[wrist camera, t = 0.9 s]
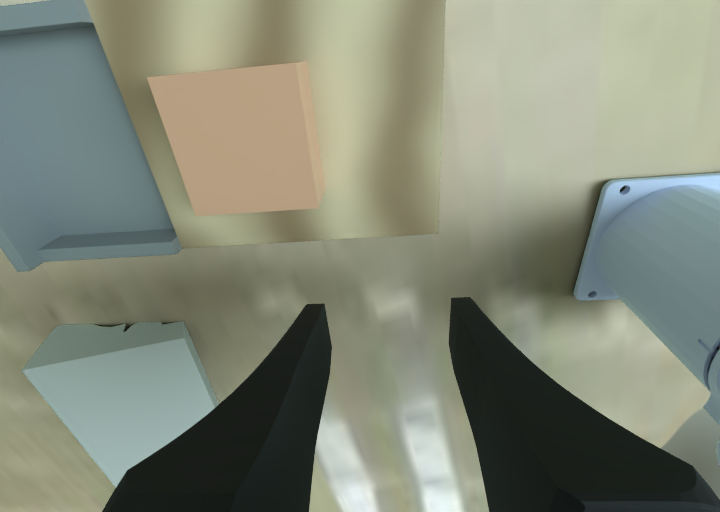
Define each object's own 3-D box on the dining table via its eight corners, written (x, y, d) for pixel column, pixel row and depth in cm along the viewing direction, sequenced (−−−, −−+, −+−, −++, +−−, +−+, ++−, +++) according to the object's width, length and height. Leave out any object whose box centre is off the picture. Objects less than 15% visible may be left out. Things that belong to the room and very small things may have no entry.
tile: (306, 60, 16) (295, 62, 13) (325, 189, 19) (318, 208, 16) (177, 73, 16) (146, 77, 14) (215, 197, 19) (195, 216, 17)
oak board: (440, -36, 15) (446, -43, 14) (434, 221, 21) (438, 233, 20) (107, 3, 16) (84, -1, 15) (193, 236, 22) (182, 248, 21)
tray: (107, 3, 16) (52, -6, 13) (193, 236, 22) (167, 263, 19) (-70, 24, 17) (-158, 19, 14) (60, 244, 23) (17, 271, 20)
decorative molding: (195, 297, 28) (58, 322, 27) (183, 337, 24) (21, 370, 23) (276, 506, 46) (195, 529, 44) (277, 550, 42) (188, 577, 40)
